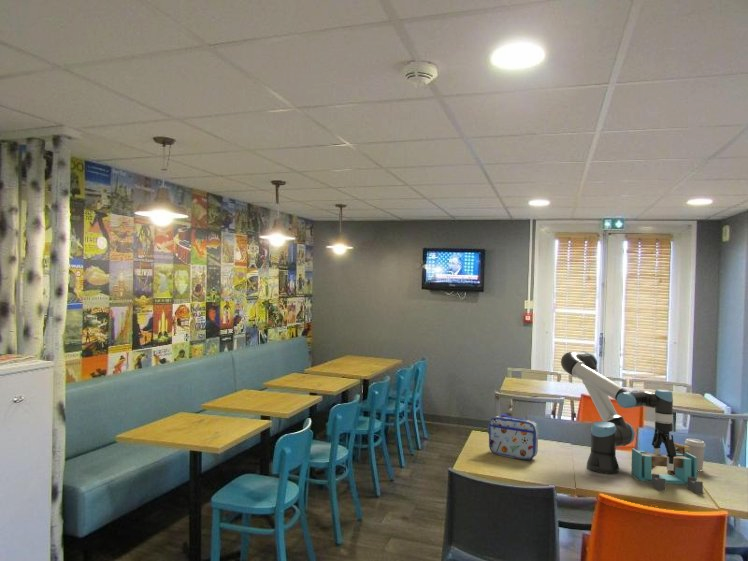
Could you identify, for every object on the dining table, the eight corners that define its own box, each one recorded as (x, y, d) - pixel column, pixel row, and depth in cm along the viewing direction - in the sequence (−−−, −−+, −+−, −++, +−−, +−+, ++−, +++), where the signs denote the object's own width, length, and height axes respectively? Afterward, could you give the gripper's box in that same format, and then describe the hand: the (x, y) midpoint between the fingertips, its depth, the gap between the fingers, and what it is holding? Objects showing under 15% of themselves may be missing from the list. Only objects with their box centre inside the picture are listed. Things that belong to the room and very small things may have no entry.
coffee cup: (709, 473, 255) (709, 443, 255) (688, 471, 256) (688, 442, 257) (700, 467, 264) (700, 439, 265) (681, 465, 266) (681, 437, 267)
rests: (658, 490, 225) (658, 478, 225) (651, 485, 232) (651, 473, 232) (702, 493, 223) (702, 482, 223) (694, 488, 230) (694, 477, 230)
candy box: (689, 477, 247) (689, 446, 248) (684, 477, 245) (684, 446, 246) (672, 471, 255) (672, 441, 256) (667, 472, 253) (667, 442, 254)
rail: (641, 464, 240) (641, 455, 240) (637, 462, 244) (638, 453, 245) (689, 468, 237) (689, 459, 238) (685, 465, 242) (685, 456, 242)
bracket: (639, 480, 237) (639, 453, 238) (631, 474, 246) (631, 448, 247) (696, 485, 234) (696, 457, 235) (686, 478, 243) (686, 452, 244)
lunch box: (484, 453, 273) (485, 413, 274) (490, 449, 282) (491, 410, 283) (534, 463, 258) (535, 421, 260) (539, 458, 267) (540, 417, 269)
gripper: (684, 428, 229) (684, 474, 228) (660, 417, 254) (659, 458, 253) (667, 427, 230) (667, 473, 229) (644, 416, 255) (644, 457, 254)
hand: (663, 465), depth 241 cm, fingers open, 13 cm apart
